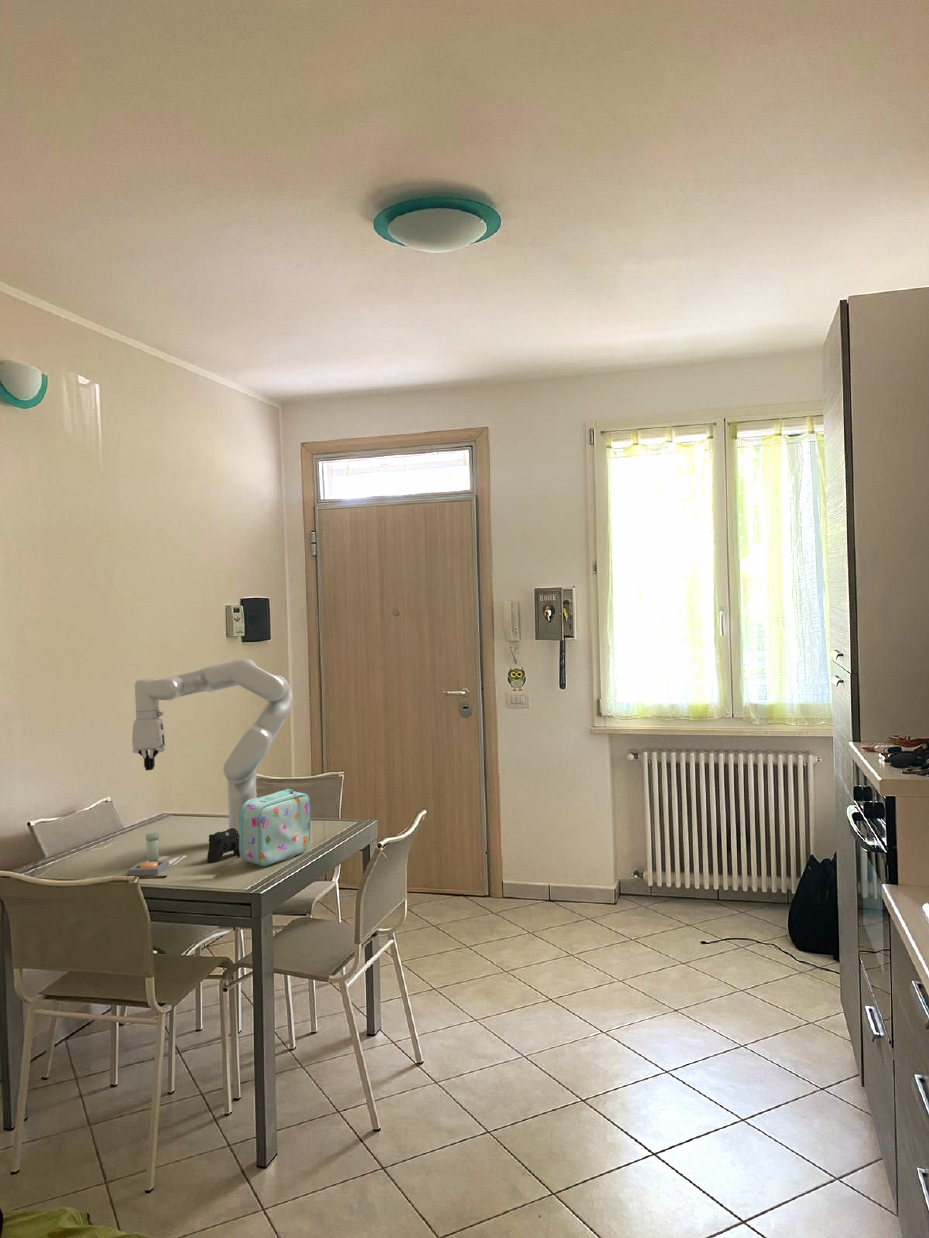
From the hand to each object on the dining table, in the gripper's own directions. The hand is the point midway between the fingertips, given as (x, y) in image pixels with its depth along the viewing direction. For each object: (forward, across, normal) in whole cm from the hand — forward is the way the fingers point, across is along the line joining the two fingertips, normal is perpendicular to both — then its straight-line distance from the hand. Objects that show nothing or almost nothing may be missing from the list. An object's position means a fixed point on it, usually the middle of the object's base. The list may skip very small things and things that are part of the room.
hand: (149, 769), depth 318 cm
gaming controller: (+27, -31, +18) cm, 45 cm away
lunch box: (+27, -47, +16) cm, 57 cm away
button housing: (+27, -12, +32) cm, 43 cm away
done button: (+26, -12, +32) cm, 43 cm away
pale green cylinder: (+26, -9, +23) cm, 36 cm away
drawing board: (+27, -12, +25) cm, 39 cm away
